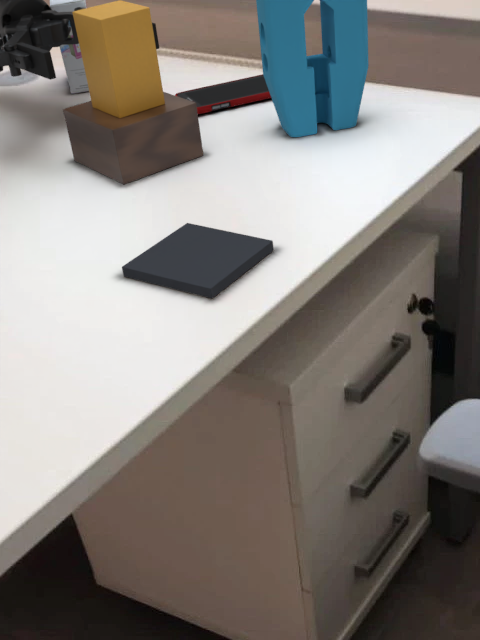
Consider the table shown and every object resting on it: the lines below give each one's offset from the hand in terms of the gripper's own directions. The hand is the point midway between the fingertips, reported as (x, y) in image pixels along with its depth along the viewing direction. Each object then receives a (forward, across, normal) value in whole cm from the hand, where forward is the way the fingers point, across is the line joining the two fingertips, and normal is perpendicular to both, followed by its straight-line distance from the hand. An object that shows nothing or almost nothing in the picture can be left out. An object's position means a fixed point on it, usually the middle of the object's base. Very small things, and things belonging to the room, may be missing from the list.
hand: (104, 50), depth 98 cm
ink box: (-28, +11, +12) cm, 33 cm away
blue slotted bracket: (+12, +20, +12) cm, 26 cm away
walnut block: (+3, 0, +11) cm, 12 cm away
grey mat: (+31, -11, +11) cm, 34 cm away
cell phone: (-5, +21, +11) cm, 24 cm away
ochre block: (+3, 0, +5) cm, 6 cm away
